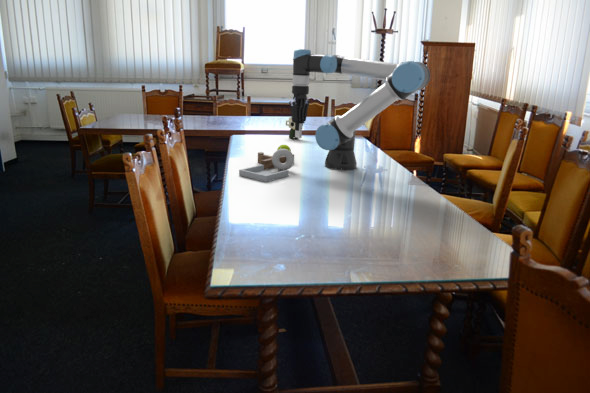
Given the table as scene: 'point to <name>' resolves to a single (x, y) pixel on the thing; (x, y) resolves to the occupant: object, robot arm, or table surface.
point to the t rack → (268, 160)
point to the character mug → (292, 126)
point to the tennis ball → (284, 147)
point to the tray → (262, 173)
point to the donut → (278, 164)
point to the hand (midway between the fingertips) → (298, 137)
